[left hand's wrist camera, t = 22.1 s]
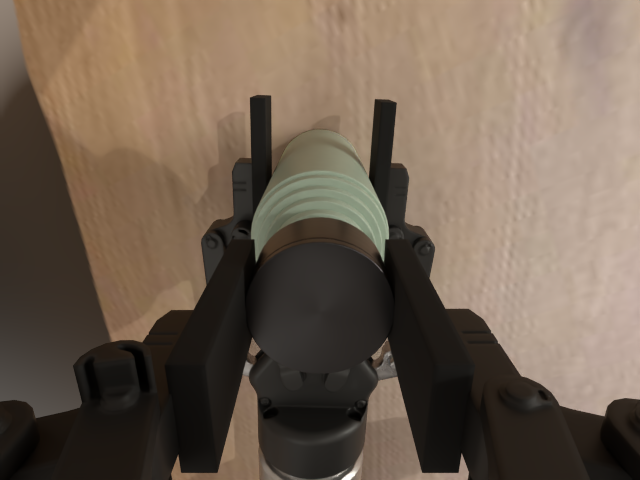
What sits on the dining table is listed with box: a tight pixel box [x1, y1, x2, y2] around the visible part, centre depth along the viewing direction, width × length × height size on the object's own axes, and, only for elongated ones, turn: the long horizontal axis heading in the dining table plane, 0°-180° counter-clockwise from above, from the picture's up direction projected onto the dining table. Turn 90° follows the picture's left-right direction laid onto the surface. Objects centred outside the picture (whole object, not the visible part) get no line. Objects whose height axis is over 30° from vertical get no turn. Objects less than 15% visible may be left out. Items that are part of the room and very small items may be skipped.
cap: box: [245, 217, 395, 374], centre depth 13 cm, size 4×4×2 cm
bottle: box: [251, 129, 389, 262], centre depth 22 cm, size 6×6×19 cm
